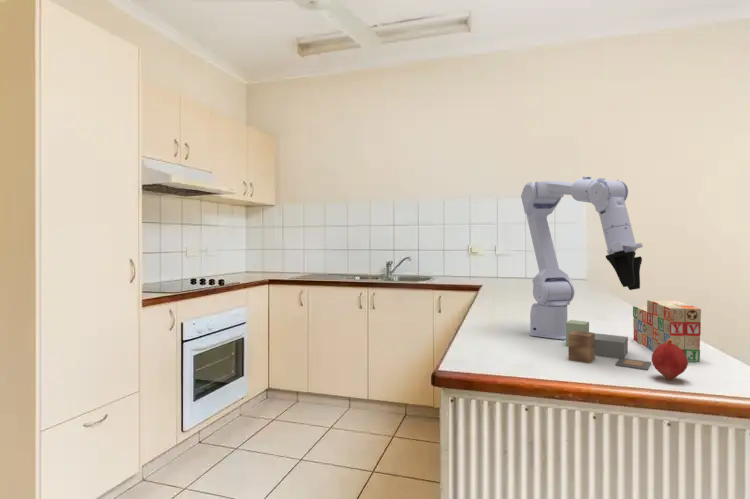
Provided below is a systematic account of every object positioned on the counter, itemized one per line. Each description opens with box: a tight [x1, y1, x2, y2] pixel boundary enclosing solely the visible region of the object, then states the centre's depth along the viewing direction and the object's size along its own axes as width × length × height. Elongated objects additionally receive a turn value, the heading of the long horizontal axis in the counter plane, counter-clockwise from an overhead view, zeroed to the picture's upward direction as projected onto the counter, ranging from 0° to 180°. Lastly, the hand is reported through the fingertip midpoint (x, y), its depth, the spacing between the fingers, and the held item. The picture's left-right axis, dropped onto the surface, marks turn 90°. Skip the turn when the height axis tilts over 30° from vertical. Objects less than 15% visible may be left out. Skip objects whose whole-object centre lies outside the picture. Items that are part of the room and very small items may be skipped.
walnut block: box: [567, 331, 596, 364], centre depth 99 cm, size 4×4×6 cm
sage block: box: [565, 319, 590, 347], centre depth 112 cm, size 4×4×6 cm
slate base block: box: [594, 332, 629, 360], centre depth 104 cm, size 7×7×4 cm
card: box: [614, 357, 652, 371], centre depth 95 cm, size 6×6×1 cm
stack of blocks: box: [632, 299, 702, 363], centre depth 106 cm, size 21×6×12 cm, turn 168°
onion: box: [651, 339, 689, 380], centre depth 85 cm, size 6×6×8 cm
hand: (631, 287), depth 96 cm, fingers open, 7 cm apart
